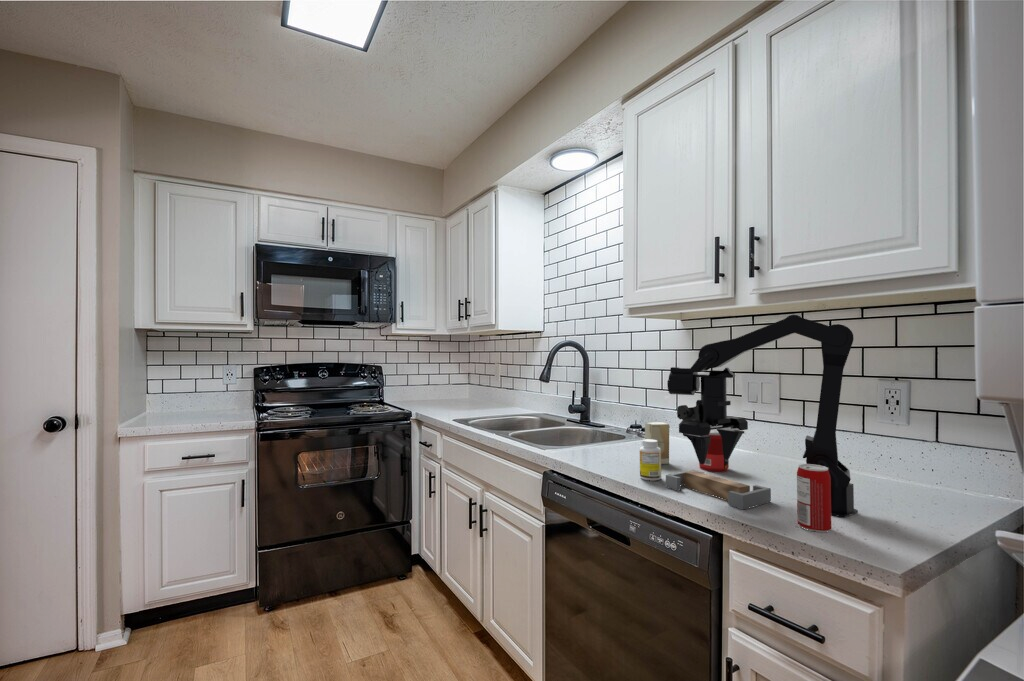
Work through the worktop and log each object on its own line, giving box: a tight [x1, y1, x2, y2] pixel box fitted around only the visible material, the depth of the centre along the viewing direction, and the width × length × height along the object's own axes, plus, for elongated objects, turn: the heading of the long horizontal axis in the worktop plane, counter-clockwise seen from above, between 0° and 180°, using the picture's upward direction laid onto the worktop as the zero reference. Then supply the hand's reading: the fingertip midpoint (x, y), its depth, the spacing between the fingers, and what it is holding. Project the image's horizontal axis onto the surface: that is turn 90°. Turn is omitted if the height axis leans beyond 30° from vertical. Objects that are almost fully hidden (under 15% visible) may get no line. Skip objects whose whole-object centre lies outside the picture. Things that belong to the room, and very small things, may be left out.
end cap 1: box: [665, 469, 705, 491], centre depth 125 cm, size 4×10×3 cm, turn 122°
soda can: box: [796, 463, 832, 533], centre depth 95 cm, size 6×6×12 cm
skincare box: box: [644, 421, 670, 465], centre depth 151 cm, size 6×4×12 cm
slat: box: [683, 470, 751, 501], centre depth 118 cm, size 16×4×4 cm, turn 27°
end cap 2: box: [727, 484, 772, 510], centre depth 110 cm, size 4×10×3 cm, turn 122°
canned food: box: [698, 429, 730, 473], centre depth 143 cm, size 8×8×11 cm
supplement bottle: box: [639, 438, 662, 482], centre depth 132 cm, size 6×6×10 cm
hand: (714, 461), depth 118 cm, fingers open, 9 cm apart
